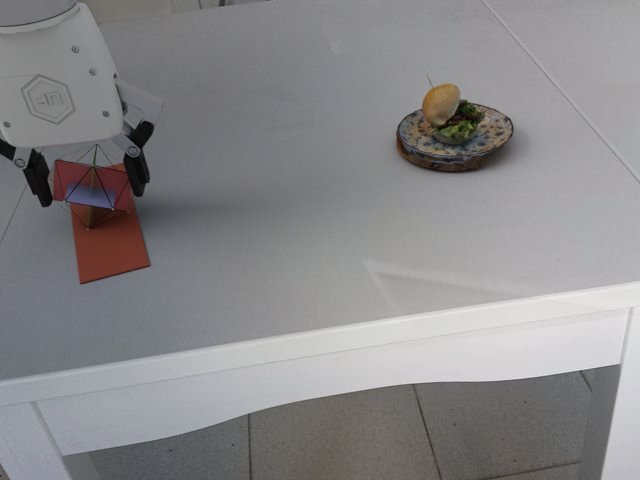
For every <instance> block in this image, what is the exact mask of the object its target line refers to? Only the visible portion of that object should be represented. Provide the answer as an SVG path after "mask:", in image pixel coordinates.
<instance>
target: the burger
mask: <svg viewBox="0 0 640 480" xmlns="http://www.w3.org/2000/svg"><path fill="white" fill-rule="evenodd" d="M426 75H427V79H428V82H429V84H430V85H431V87H432V88H430V90H428V92H427V93H426V94H425V95H424V97H423V100H422V103H421V108H420V109H417V110H414V111H413V112H410V113H409V114H407V115H406V116H404V118H402V120H401V121H400V122H399V123H398V125H397V129H396V132H395V136H396V148H397V150H398V153H399V154H400V155H401V156H402V157H403V158H405V159H406V160H407V161H409V162H411V163H413V164H415V165H417V166H420V167H423V168H426V169H427V168H428V169H432V170H438V171H451V172H461V171H465V170H469V169H471V170H476V169H480V168H482V167H483V165H484V163H485V161H486V159H487V157H488V155H490V154H492V153H494V152H497V151H499V150H501V149H503V148H504V147H505V145H506V144H507V142H508V141H509V140H510V139H511V138H512V137H513V134H514V129H515V128H514V124H513V122H512V119H511V118H510V117H509V116H507V115H506V114H504V113H502V112H501V111H498V109H496V108H493V107H489V106H486V105H485V104H479V103H475V102H470V101H468V99H466V98H465V99H464V98H463V99H461V90H460V89H459V87H458V85H456V84H453V83H442V84H438V85H436V86H433V84H432V82H431V80H430V79H431V78H429V75H428V74H426Z"/></svg>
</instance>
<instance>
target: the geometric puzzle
mask: <svg viewBox="0 0 640 480" xmlns="http://www.w3.org/2000/svg"><path fill="white" fill-rule="evenodd" d="M98 147H99V149H100V150H101V151H102V153H103V154H104V156H105V157H106V158H107V160H108V162H109V163H110V164H111V165H113V162H111V161H110V158H108V156H107V155H106V152H107V154H109V152H108V151H107V150H105V152H104V151H103V148H102V146H101V145H100V144H99V142H95V144H93V145H91V148H90V149H89V150H88V151H87V152H86V153H84V155H83V156H81V157H80V158H79V159H78V160H77V161H76V162H75V161H68V160H63V159H62V158H63V156H62V157H59V158H57V159H53V161H54V162H53V164H52V166H51V167H50V169H49V170H50V173H49V175H48V178H47V180H48V183H49V187H50V190H51V194H52V197H53V201H54V202H55V203H57V202H63V203H65V204H66V205H67V206H68V207H69V210H70V211H71V210H72V209H71V208H70V206H69V204H70V203H74V204H81V205H87V206H90V210H89V224H88V228H87V227H86V228H87V230H89V228H90V227H89V225H90V219H91V214H92V209H93V207H99V208H105V209H112V210H117V211H124V212H125V213H126V212H129V211H128V206H129V197H130V190H132V188H131V185H130V182H129V179H128V176H127V173H126V172H124V171H120V170H116V169H110V168H106V167H107V166H101V165H96V164H97V151H98ZM87 148H89V146H87V147H85V148H83V150H85V149H87ZM93 148H95V149H94V150H95V151H94V155H93V162H92V164H89V163H82V162H79V161H80V160H82V159H83V157H85V156H86V155H87V154H88V153H89V152H91V150H92V149H93ZM79 151H81V149H80V150H78V152H79ZM75 153H76V151H74V152H72V153H70V155H72V154H75ZM66 156H68V154H66V155H65V157H66ZM112 158H113V159H114V160H116V158H115V157H114V156H112ZM121 163H122V162H119V164H121ZM121 165H122V164H121ZM113 167H114V166H113ZM104 168H105V169H104ZM114 168H115V167H114ZM53 201H52V202H53ZM68 203H69V204H68ZM59 206H60V207H61V208H63V209H64V206H62V205H61V204H59ZM112 210H111V211H112ZM65 211H66V212H68V214H70V212H69V211H68V210H67V209H65ZM72 211H73V210H72ZM111 211H110V212H111ZM73 212H74V211H73ZM110 212H108V213H110ZM108 213H107V214H108ZM107 214H106V215H107ZM123 214H124V213H123ZM75 215H76V214H75ZM106 215H104V216H106ZM76 216H77V215H76ZM104 216H103V217H104ZM118 216H119V215H118ZM73 217H74V216H73ZM77 217H78V216H77ZM103 217H102V218H103ZM116 217H117V216H116ZM74 218H75V217H74ZM78 218H79V217H78ZM102 218H101V219H102ZM114 218H115V217H114ZM79 219H80V218H79ZM101 219H99V220H101ZM111 219H112V218H111ZM99 220H98V221H99ZM109 220H110V219H109ZM98 221H97V222H98ZM107 221H108V220H107ZM79 222H80V221H79ZM81 222H82V221H81ZM81 222H80V223H81ZM97 222H96V223H97ZM82 223H83V222H82ZM82 223H81V224H82ZM96 223H94V224H96ZM102 223H103V222H102ZM83 224H84V223H83ZM94 224H93V225H94ZM100 224H101V223H100ZM84 225H85V224H84ZM93 225H92V226H93ZM98 225H99V224H98ZM85 226H86V225H85ZM92 226H91V228H92ZM95 226H96V225H95ZM93 227H94V226H93Z"/></svg>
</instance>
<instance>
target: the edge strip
mask: <svg viewBox="0 0 640 480" xmlns="http://www.w3.org/2000/svg"><path fill="white" fill-rule="evenodd" d="M120 163H121V164H122V165H121V164H120ZM120 163H116V164H111V165H107V166H105V167H106V168H110V169H116V170H120V171H124V172H126V169H125V166H124V163H123V162H120ZM113 166H114V167H115V168H114V167H113ZM104 169H105V168H104ZM69 207H70V208H71V209H72V210H73V211H74V212H73V211H72V210H71V209H70V208H69V209H70V216H71V223H72V232H73V239H74V247H75V255H76V263H77V272H78V279H79V285H82V284H85V283H90V282H94V281H98V280H101V279H104V278H105V279H106V278H109V277H112V276H113V277H114V276H117V275H120V274H124V273H129V272H132V271H136V270H139V269H143V268H147V267H150V262H149V258H148V254H147V249H146V245H145V242H144V238H143V234H142V230H141V225H140V222H139V219H138V218H139V217H138V214H137V211H136V210H137V209H136V206H135V202H134V198H133V193H132V189H130V197H129V206H128V211H129V212H126V213H125V212H124V211H117V210H112V209H105V208H99V207H93V209H92V214H91V219H90V225H89V227H90V228H89V230H87V228H88V224H89V210H90V206H87V205H81V204H74V203H69ZM111 210H112V211H111ZM110 211H111V212H110ZM108 212H110V213H108ZM107 213H108V214H107ZM123 213H124V214H123ZM75 214H76V215H77V216H78V217H79V218H80V219H79V218H78V217H77V216H76V215H75ZM106 214H107V215H106ZM104 215H106V216H104ZM118 215H119V216H118ZM73 216H74V217H75V218H74V217H73ZM103 216H104V217H103ZM116 216H117V217H116ZM102 217H103V218H102ZM114 217H115V218H114ZM101 218H102V219H101ZM111 218H112V219H111ZM99 219H101V220H99ZM109 219H110V220H109ZM98 220H99V221H98ZM107 220H108V221H107ZM79 221H80V222H81V221H82V222H83V223H84V224H85V225H86V226H85V225H84V224H83V223H82V222H81V223H82V224H81V223H80V222H79ZM97 221H98V222H97ZM96 222H97V223H96ZM102 222H103V223H102ZM94 223H96V224H94ZM100 223H101V224H100ZM93 224H94V225H93ZM98 224H99V225H98ZM92 225H93V226H94V227H93V226H92ZM95 225H96V226H95ZM91 226H92V228H91ZM86 227H87V228H86Z"/></svg>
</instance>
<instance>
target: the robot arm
mask: <svg viewBox="0 0 640 480" xmlns="http://www.w3.org/2000/svg"><path fill="white" fill-rule="evenodd" d="M164 104H165V103H164V100H163V99H162V98H161V97H159V96H157V95H155V94H153V93H151V92H149V91H146V90H144V89H143V88H141V87H139V86H136V85H134V84H132V83H130V82H128V81H125V80H123V79H121V78H120V75H119V72H118V70H117V68H116V64H115V62H114V59H113V57H112V54H111V52H110V50H109V48H108V45H107V43H106V41H105V39H104V36H103V35H102V32H101V30H100V28H99V26H98V24H97V21H96V20H95V18H94V16H93V14H92V12H91V11H90V8H89V7H88V5H87V4H86V3H85V2H78V0H0V155H1V156H3V157H4V158H6V159H8V160H9V161H11V162H12V164H13V166H14V167H15V168H16V169H19V170H22V172H23V175H24V177H25V179H26V182H27V184H28V187H29V189H30V191H31V193H32V195H33V196H37V199H38V201H39V204H40V206H41V207H42V208H49V207H50V206H52V203H53V197H52V194H51V190H50V187H49V183H48V180H47V178H48V175H49V173H50V170H51V169H50V168H49V166H48V163H47V161H46V158H45V156H44V154H42V152H41V151H39V152H38V151H37V150H36V149H43V148H54V147H63V146H73V145H83V144H90V143H99V142H104V141H106V142H107V141H110V140H111V141H112V142H113V143H114V144H116V146H117V147H119V149H121V150H122V151H123V152H124V155H123V158H122V163H124V166H125V170H126V173H127V176H128V179H129V182H130V185H131V192H132V195H133V197H136V198H142V197H144V194H145V189H146V185H147V184H149V183H150V181H151V173H150V169H149V166H148V163H147V162H148V161H147V159H146V156H145V153H144V147H145V146H146V144H147V143H148V142H149V140H150V138H151V137H152V136H153V133H154V131H155V128H156V125H157V124H158V121H159V119H160V117H161V115H162V111H163V108H164ZM129 106H131V107H134V108H135V109H139V110H140V111H141V112H142V113H143V115H142V118H141V119H140V121H139V122H138V124H137V125H136V126H135V125H134V124H133V123H132V122H131V121H130V120H128V118H126V116H127V114H128V111H129Z"/></svg>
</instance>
